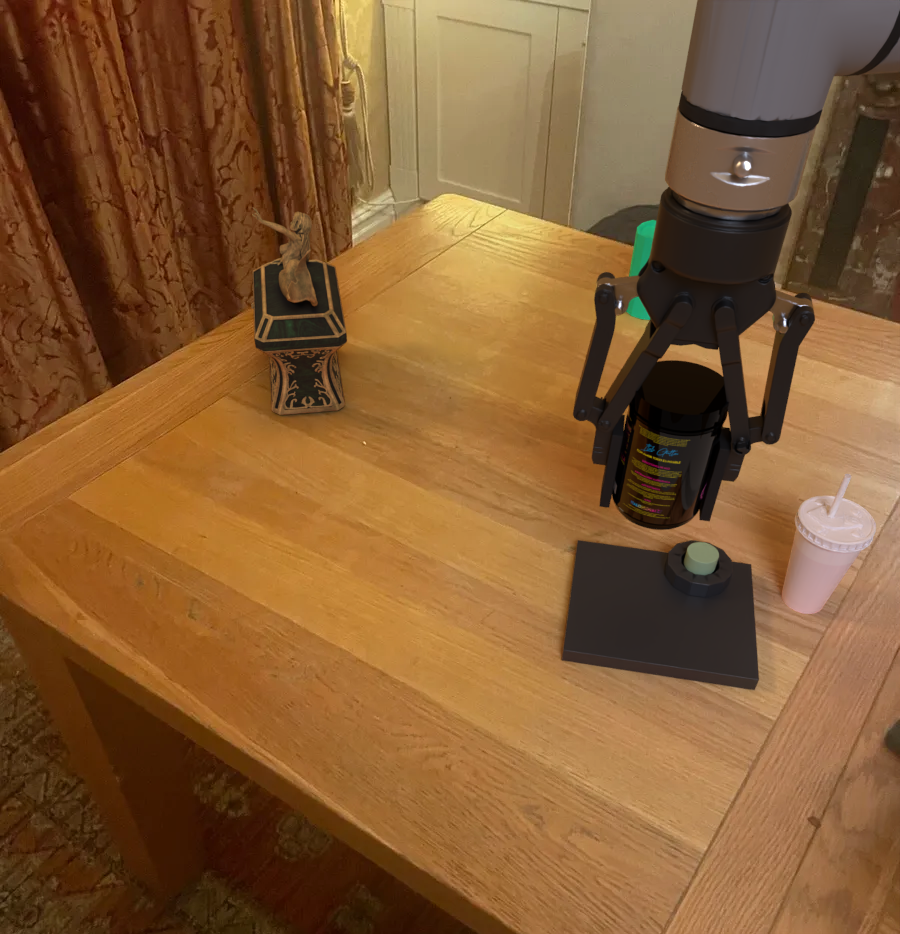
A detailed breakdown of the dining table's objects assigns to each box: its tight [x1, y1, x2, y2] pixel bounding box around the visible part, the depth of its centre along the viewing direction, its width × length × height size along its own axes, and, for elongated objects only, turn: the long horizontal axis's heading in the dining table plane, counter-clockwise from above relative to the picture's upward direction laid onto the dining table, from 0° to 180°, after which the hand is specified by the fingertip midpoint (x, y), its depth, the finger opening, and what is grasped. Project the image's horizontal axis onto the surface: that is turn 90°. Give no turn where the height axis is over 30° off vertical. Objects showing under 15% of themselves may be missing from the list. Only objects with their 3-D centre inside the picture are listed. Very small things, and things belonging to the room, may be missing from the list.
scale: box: [561, 539, 760, 691], centre depth 79 cm, size 16×14×3 cm
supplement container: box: [611, 359, 729, 531], centre depth 65 cm, size 7×7×10 cm
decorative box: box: [250, 206, 348, 416], centre depth 97 cm, size 20×10×20 cm, turn 9°
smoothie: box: [781, 473, 877, 615], centre depth 77 cm, size 6×6×14 cm
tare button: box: [684, 541, 719, 575], centre depth 81 cm, size 3×3×2 cm
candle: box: [625, 219, 657, 321], centre depth 115 cm, size 6×6×12 cm
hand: (654, 502), depth 69 cm, fingers closed on supplement container, 7 cm apart
